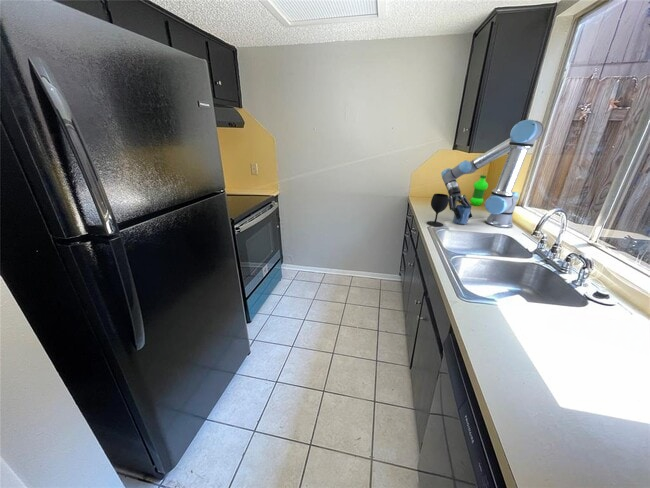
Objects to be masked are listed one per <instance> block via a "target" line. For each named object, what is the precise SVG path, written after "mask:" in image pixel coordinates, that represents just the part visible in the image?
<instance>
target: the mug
mask: <svg viewBox="0 0 650 488" xmlns="http://www.w3.org/2000/svg"><path fill="white" fill-rule="evenodd" d="M456 209H458V211H459V214H460V216H461V218H459V219H457V218H456V215H455V214H454V213H453V218H452V222H453V223H455V224H458V225H467V224H468V223H469V219H470V218H469V215H470V211H471V212H472V207H470V206H466V205H462V204H456Z"/></svg>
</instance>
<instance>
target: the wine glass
mask: <svg viewBox="0 0 650 488" xmlns="http://www.w3.org/2000/svg"><path fill="white" fill-rule="evenodd" d="M448 201H449V194H446V193H434V194H433V195H432V197H431V200H430V205H431V206H430V208H431V209H432V210H433V211H434V212H435V218H434V220H429V221H426V225H428V226H430V227H435V228H440V227H443V226H444V224H443V223H442V222H439V221H437V220H438V216H439V214H440V213H442V212H444V211H445V210H446V209H447V207H448V206H449V202H448Z"/></svg>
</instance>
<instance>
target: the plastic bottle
mask: <svg viewBox="0 0 650 488" xmlns="http://www.w3.org/2000/svg"><path fill="white" fill-rule="evenodd" d="M479 178H480V179H479V180H477V181H475V182H474V183H473V188H474V189H473V194H472V197H471V198H470V200H469V203H470V204H472V205H473V206H476V207H477V206H480V205H482V204H483V203H484V196H485V192H486V190H487V189H488V188H489V184H488V182H487V181H486V178H487V175H483V174H481V175H480V176H479ZM472 205H471V206H472Z"/></svg>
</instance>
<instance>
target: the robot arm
mask: <svg viewBox="0 0 650 488" xmlns="http://www.w3.org/2000/svg"><path fill="white" fill-rule="evenodd" d="M544 129H545V127H544V124H543V123H542V122H541V121H538V120H534V119H525V120H521V121H519V122H517V123H516V124H514V125H513V127H512V129H511V130H510V133H509V138H508V139H506V140H504V141H503V142H501V143H499V144H498V145H496V146H493V147H492V148H491V149H489V150H487V151H485V152H483V153H482V154H480V155H479V156H477V157H476V158H474V159H472V160H470V161H469V160H463V161H461V162H460V163H458V164H457V165H456V166H454V167H453V168H450V167H449V168H446V169H443V170H442V171H441V173H440V175H441V179H442V181H443V183H444V186H445V188H446V191H447V195H448V197H449V201H448V207H449V210H450V211H451V212H453V215H454V214H455V215H456V218H457V219H459V218H461V216H460V214H459V211H458V209H456V206H457V205H458V204H457V203H459V204H460V205H466V206H470V207H471V208H472V205H471V202H470V201H469V200H468V198H467V196H466V195H465V194H463V195H462V194H461V192H462V191H461V188H460V187H459V184H458V181H457V179H459V178H460V177H462V176H464V175H471V174H473V173H476V172H478V170H479V169H482V168H483V167H485V166H487V165H489V164H490V163H492V162H494V161H495V160H497V159H499V158H501V157H504V156H506V155H507V156H506V159H505V163H504V165H503V168H502V169H501V170H502V171H501V173H500V176H499V179H498V181H497V184H496V187H495V188H494V189H492V190H491V193H490V196H489V197H488V198H487V199H486V200H485V202H484V207H485V209H486V211H487V212H488V213H490V214H489V215H488V216H487V218H486V221H485V222H486V224H488V225H490V226H492V227H497V228H504V229H509V228H512V227H513V223H514V222H513V215H514V211H515V208H516V206H517V201H518V200H519V196H520V194H519V192H517V191H513V189H514V187H515V184H516V181H517V179H518V177H519V174H520V172H521V169H522V167H523V164H524V162H525V159H526V157H527V154H528V151H529V150H531V149H532V148H533V147H534V145H535V142H536V141H537V140H539V139H540V138H541V137H542V135H543V133H544V132H545V131H544ZM471 218H473V214H472V210H471V211H470V215H469V219H471Z"/></svg>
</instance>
